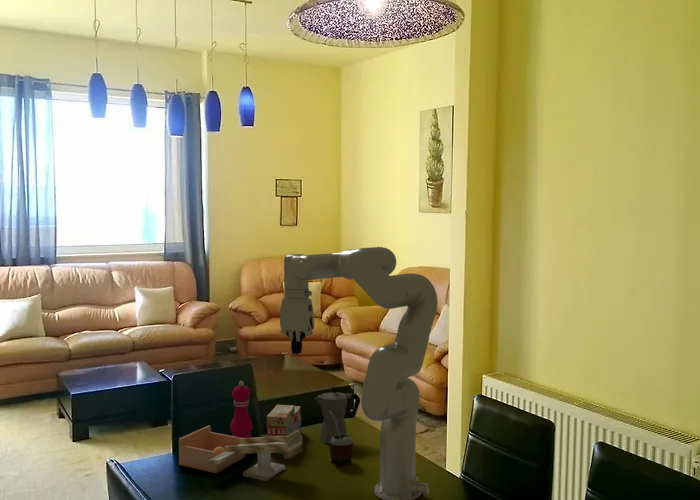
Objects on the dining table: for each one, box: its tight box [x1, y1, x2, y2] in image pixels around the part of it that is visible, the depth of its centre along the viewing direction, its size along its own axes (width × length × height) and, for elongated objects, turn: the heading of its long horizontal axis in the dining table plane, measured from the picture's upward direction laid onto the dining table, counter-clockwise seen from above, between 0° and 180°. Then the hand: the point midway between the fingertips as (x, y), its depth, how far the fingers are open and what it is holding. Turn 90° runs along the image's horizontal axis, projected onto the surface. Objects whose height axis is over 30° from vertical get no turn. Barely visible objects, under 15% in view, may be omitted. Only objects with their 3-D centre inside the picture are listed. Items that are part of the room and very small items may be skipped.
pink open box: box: [178, 425, 246, 474], centre depth 204 cm, size 14×14×8 cm
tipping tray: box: [208, 430, 304, 464], centre depth 191 cm, size 22×16×6 cm
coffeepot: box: [313, 386, 361, 445], centre depth 222 cm, size 15×9×18 cm, turn 95°
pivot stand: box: [242, 452, 286, 482], centre depth 195 cm, size 8×10×6 cm
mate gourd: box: [329, 410, 354, 468], centre depth 203 cm, size 8×8×15 cm
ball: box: [213, 447, 225, 456], centre depth 203 cm, size 4×4×4 cm
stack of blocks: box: [266, 404, 302, 455], centre depth 220 cm, size 21×6×12 cm, turn 171°
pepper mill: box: [229, 380, 253, 438], centre depth 222 cm, size 7×7×20 cm
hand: (296, 353), depth 207 cm, fingers closed
